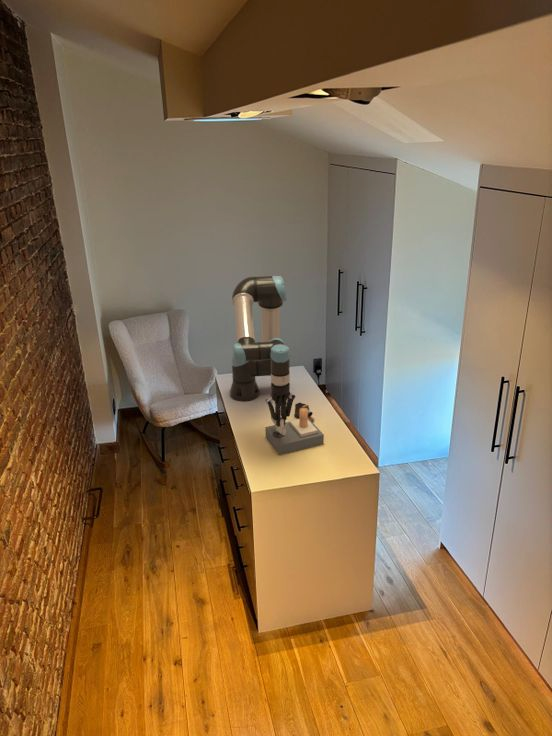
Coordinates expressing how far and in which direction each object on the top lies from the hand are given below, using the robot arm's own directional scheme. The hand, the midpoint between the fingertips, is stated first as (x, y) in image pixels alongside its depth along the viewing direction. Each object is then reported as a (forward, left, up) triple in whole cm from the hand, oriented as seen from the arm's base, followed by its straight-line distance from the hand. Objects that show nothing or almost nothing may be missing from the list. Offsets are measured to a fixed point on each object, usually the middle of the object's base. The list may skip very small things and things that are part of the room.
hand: (280, 431), depth 231 cm
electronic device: (-20, +20, -10) cm, 30 cm away
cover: (-5, +13, -4) cm, 15 cm away
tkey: (-5, +1, -5) cm, 7 cm away
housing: (-5, +8, -10) cm, 14 cm away
